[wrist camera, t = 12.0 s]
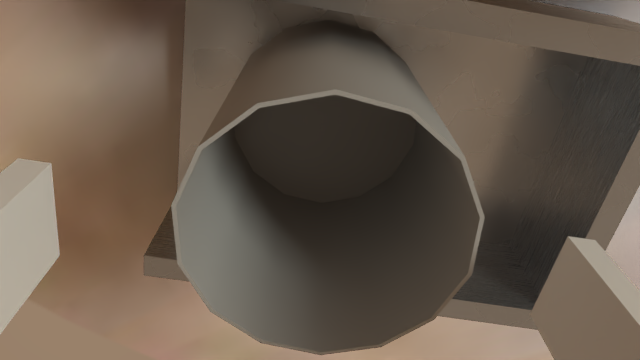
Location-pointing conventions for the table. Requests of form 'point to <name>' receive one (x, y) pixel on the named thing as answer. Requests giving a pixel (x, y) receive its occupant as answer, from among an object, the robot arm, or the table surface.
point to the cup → (327, 197)
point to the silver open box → (468, 119)
